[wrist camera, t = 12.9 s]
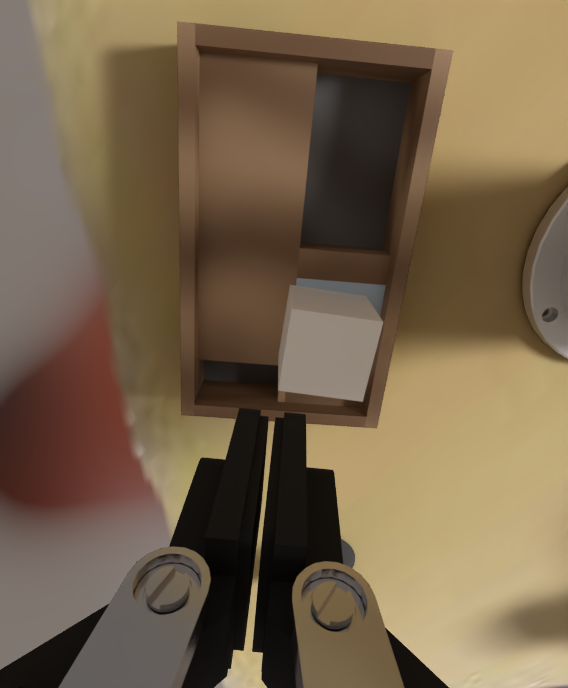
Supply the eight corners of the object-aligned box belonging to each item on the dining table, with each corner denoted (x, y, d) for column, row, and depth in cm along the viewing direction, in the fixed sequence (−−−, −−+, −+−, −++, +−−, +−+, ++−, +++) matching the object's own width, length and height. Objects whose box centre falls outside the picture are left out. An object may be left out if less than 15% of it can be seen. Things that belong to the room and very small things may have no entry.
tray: (192, 44, 19) (177, 21, 16) (427, 68, 20) (453, 50, 17) (192, 387, 26) (181, 415, 23) (366, 399, 27) (376, 428, 24)
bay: (295, 268, 23) (296, 277, 21) (376, 275, 24) (385, 285, 22) (287, 350, 25) (288, 366, 23) (362, 355, 25) (370, 372, 23)
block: (289, 284, 21) (291, 308, 18) (366, 296, 22) (383, 321, 18) (278, 355, 23) (277, 390, 19) (349, 364, 23) (362, 401, 20)
